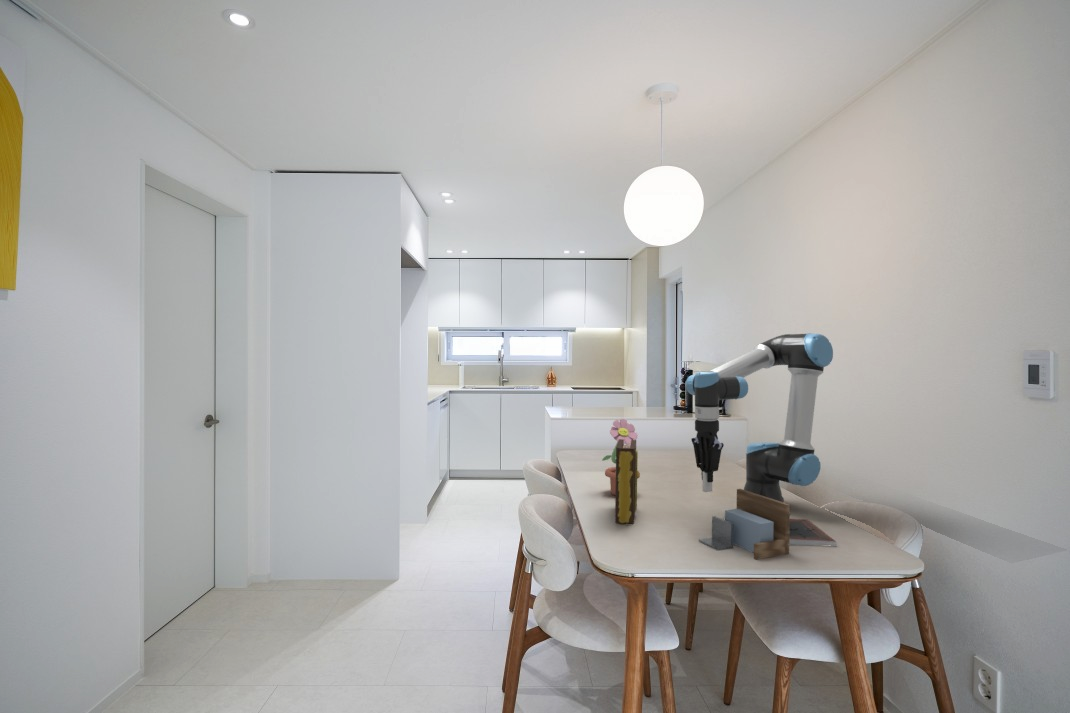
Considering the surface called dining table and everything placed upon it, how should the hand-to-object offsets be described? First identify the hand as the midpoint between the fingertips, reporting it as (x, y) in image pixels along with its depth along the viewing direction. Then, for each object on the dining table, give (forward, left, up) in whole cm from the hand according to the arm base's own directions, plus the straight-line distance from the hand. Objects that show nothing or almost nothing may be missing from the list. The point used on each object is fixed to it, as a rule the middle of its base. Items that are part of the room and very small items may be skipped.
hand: (707, 491), depth 179 cm
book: (+18, -21, -12) cm, 30 cm away
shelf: (+1, +18, -12) cm, 21 cm away
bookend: (+9, +14, -12) cm, 20 cm away
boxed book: (+1, +19, -12) cm, 22 cm away
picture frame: (-22, +15, -13) cm, 29 cm away
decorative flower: (+5, -45, -12) cm, 47 cm away
